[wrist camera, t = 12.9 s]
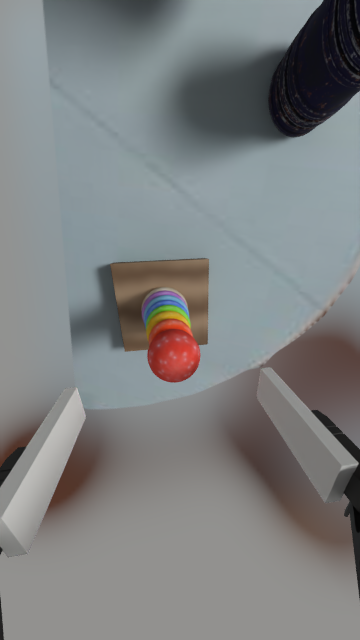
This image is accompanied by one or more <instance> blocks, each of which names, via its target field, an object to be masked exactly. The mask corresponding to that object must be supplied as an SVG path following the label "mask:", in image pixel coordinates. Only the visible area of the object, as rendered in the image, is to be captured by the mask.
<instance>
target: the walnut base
mask: <svg viewBox="0 0 360 640" xmlns="http://www.w3.org/2000/svg"><path fill="white" fill-rule="evenodd" d="M110 266H111V272H112V278H113V284H114V290H115V296H116V301H117V307H118V313H119V319H120V325H121V331H122V337H123V343H124V349H125V352H126V351H137V350H148V349H149V342H148V339H147V335H146V328H145V324H144V322H143V319H142V311H141V308H142V303H143V300H144V299H145V297H146V296H147V294H148V293H150V292H151V291H152V290H154V289H157V288H160V287H169V288H173V289H175V290H177V291H178V292H180V293H181V294H182V295H183V296H184V298H185V300H186V302H187V306H188V311H189V319H190V323H191V331H192V334H193V338H194V339H195V340H196V342H197V344H198V345H204V344H208V278H209V259H206V258H200V259H180V260H159V261H139V262H118V263H112V264H110Z"/></svg>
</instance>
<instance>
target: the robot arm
mask: <svg viewBox="0 0 360 640" xmlns="http://www.w3.org/2000/svg"><path fill="white" fill-rule="evenodd" d="M257 399H258V400H259V402H260V403H261V404H262V406H263V408H264V409H265V411H266V413H267V414H268V416H269V417H270V419H271V420H272V422H273V423H274V425H275V426H276V428H277V430H278V431H279V433H280V434H281V436H282V437H283V439H284V440H285V442H286V443H287V445H288V447H289V448H290V450H291V451H292V453H293V454H294V456H295V457H296V459H297V460H298V462H299V464H300V465H301V467H302V468H303V470H304V471H305V473H306V474H307V476H308V478H309V479H310V481H311V482H312V484H313V485H314V487H315V488H316V490H317V491H318V493H319V495H320V496H321V498H322V499H323V501H324V502H325V503H329V502H335V501H340V500H341V498H342V496H343V494H345V495H346V496H347V498H348V499H349V500H350V502H349V504H348V506H347V508H346V510H345V513H344V516H346V517H348V515H349V513H350V520H351V528H352V536H353V546H354V554H355V563H356V572H357V580H358V589H359V598H360V449H359V448H358V447H357V446H356V445H355V444H354V443H353V442H352V441H351V440H350V439H349V438H348V437H347V436H346V435H345V434H343V432H342V431H341V430H340V429H339V428H338V427H336V425H335V424H334V423H333V422H332V421H331V420H330V419H329V418H328V417H327V416H325V415H324V414H322V413H321V412H319V411H318V410H312V411H310V410H309V409H308V408H307V406H306V405H305V404H304V403H303V402H302V401H301V400H300V399H299V398H298V397H297V396H296V395H295V393H294V392H293V391H292V390H291V389H290V388H289V387H288V386H287V385H286V384H285V383H284V381H283V380H282V379H281V378H280V377H279V376H278V375H277V374H276V373H275V372H274V371H273V370H272V369H271V368H261V370H260V377H259V384H258V390H257ZM85 418H86V415H85V412H84V409H83V405H82V402H81V399H80V396H79V393H78V389H77V387H73V388H65V389H64V391H63V392H62V394H61V395H60V397H59V398H58V400H57V401H56V403H55V405H54V406H53V408H52V409H51V411H50V412H49V414H48V415H47V417H46V418H45V420H44V422H43V423H42V424H41V426H40V427H39V429H38V431H37V432H36V434H35V435H34V437H33V438H32V440H31V441H30V443H29V444H28V446H27V447H20V448H17V449H16V450H15V451H14V452H13V453H12V454H11V455H10V456H9V457H8V458H7V459H6V460H5V462H4V463H3V464H2V466H1V467H0V554H1V552H2V551H3V552H4V553H5V554H6V556H7V557H12V556H18V555H24V554H28V552H29V550H30V548H31V545H32V543H33V540H34V538H35V536H36V533H37V531H38V529H39V526H40V524H41V521H42V519H43V517H44V515H45V512H46V510H47V507H48V505H49V503H50V500H51V498H52V496H53V493H54V491H55V489H56V486H57V484H58V482H59V479H60V477H61V474H62V472H63V470H64V467H65V465H66V463H67V460H68V458H69V455H70V453H71V451H72V448H73V446H74V444H75V441H76V439H77V437H78V434H79V432H80V430H81V427H82V425H83V422H84V420H85ZM0 640H4V637H3V623H2V612H1V599H0Z"/></svg>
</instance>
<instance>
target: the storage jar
mask: <svg viewBox="0 0 360 640" xmlns="http://www.w3.org/2000/svg"><path fill="white" fill-rule="evenodd" d="M359 91H360V0H324V1H323V2H322V4H321V5H320V6H319V7H318V8H317V9H316V10H315V11H314V12H313V14H312V15H311V16H310V18H309V19H308V21H307V22H306V23H305V25H304V26H303V28H302V29H301V30H300V31H299V33H298V34H297V36H296V37H295V39H294V40H293V42H292V43H291V45H290V46H289V48H288V50H287V52H286V54H285V56H284V57H283V59H282V60H281V62H280V63H279V65H278V66H277V68H276V70H275V72H274V75H273V78H272V80H271V84H270V89H269V110H270V115H271V117H272V120H273V122H274V124H275V126H276V127H277V128H278V130H279V131H280V132H282V133H283V134H285V135H287V136H290V137H299V136H303V135H305V134H307V133H309V132H310V131H311V130H313V129H314V128H315V127H316V126H318V125H320V124H322V123H323V122H324V121H326V120H327V119H328V118H330V117H331V116H332V115H334V114H335V113H336V112H337V111H338V110H340V109H341V108H342V107H343V106H344V105H345V104H346V103H347V102H348V101H349V100H350V99H351V98H352V97H353V96H354V95H355V94H356V93H358V92H359Z"/></svg>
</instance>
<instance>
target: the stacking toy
mask: <svg viewBox="0 0 360 640" xmlns="http://www.w3.org/2000/svg"><path fill="white" fill-rule="evenodd" d="M141 311H142V319H143V322H144V324H145V328H146V335H147V339H148V342H149V349H148V363H149V366H150V368H151V370H152V371H153V373H154V374H155V375H156V376H157V377H159V378H160V379H162V380H164V381H167V382H181V381H183V380H186V379H188V378H189V377H190V376H191V375H193V373H194V372H195V371H196V369H197V368H198V365H199V362H200V349H199V346H198V344H197V342H196V340H195V339H194V338H193V334H192V331H191V323H190V319H189V311H188V306H187V302H186V300H185V298H184V296H183V295H182V294H181V293H180V292H178V291H177V290H175V289H173V288H169V287H160V288H157V289H154V290H152V291H151V292H150V293H148V294H147V296H146V297H145V299H144V300H143V303H142V308H141Z"/></svg>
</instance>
